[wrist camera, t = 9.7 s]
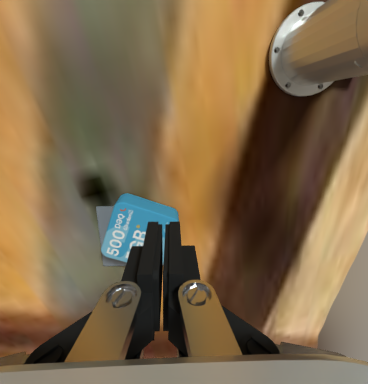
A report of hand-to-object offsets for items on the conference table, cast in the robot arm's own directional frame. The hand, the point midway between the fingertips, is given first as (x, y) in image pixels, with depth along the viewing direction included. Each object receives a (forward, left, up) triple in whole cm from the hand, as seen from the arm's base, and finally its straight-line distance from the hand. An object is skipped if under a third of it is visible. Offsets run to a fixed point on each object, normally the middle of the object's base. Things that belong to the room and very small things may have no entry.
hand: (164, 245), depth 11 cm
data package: (-1, +17, -26) cm, 32 cm away
